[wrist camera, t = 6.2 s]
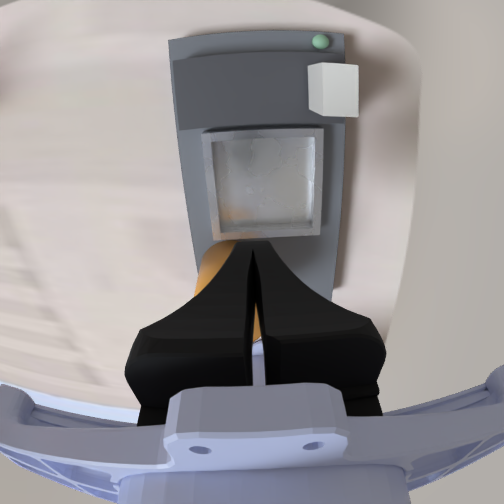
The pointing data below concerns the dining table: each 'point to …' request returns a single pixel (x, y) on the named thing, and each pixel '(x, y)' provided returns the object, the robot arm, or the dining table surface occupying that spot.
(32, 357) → the dining table surface
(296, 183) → the frame
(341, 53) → the breaker panel
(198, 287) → the cap
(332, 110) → the lever
